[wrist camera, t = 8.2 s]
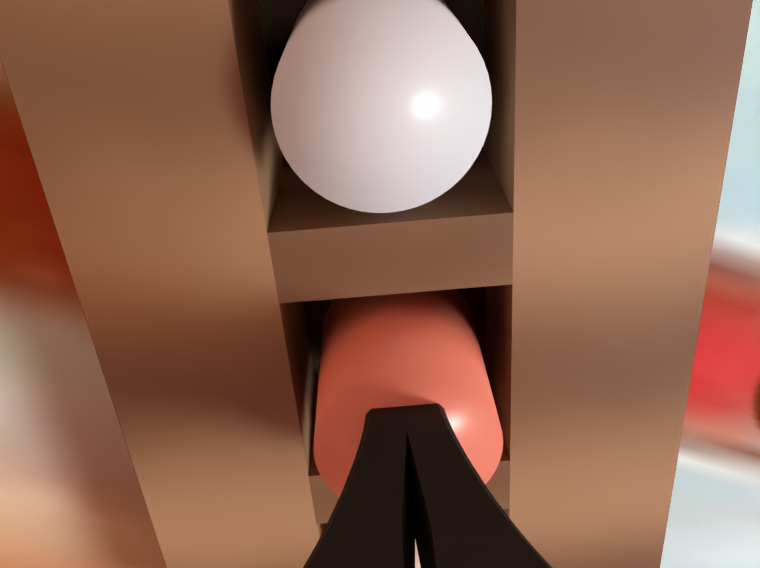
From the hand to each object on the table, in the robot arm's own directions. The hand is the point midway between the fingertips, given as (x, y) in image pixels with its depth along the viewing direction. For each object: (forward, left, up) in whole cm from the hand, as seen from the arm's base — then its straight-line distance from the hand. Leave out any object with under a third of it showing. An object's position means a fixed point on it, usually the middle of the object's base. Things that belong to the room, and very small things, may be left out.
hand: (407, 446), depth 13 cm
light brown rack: (0, 0, -5) cm, 5 cm away
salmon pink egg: (0, 0, -4) cm, 4 cm away
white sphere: (+6, 0, -5) cm, 8 cm away
